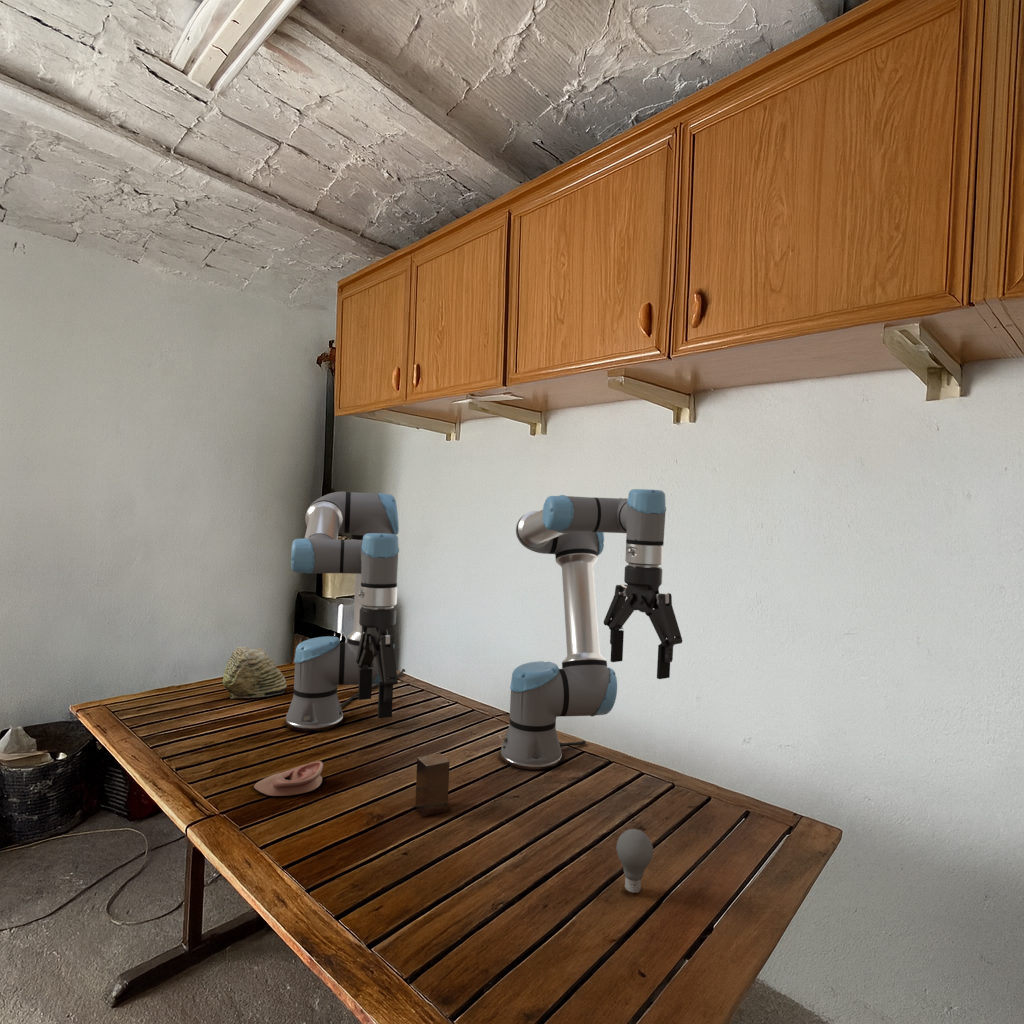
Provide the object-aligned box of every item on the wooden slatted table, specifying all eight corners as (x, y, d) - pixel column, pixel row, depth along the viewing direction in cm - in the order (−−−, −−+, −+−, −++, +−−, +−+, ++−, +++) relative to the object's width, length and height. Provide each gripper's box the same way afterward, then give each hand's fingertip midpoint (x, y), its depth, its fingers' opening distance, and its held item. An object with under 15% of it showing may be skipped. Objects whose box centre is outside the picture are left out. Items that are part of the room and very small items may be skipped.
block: (415, 806, 131) (417, 757, 131) (437, 801, 134) (439, 752, 134) (424, 816, 127) (426, 765, 127) (447, 811, 130) (449, 761, 130)
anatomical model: (246, 773, 134) (276, 753, 145) (245, 792, 134) (276, 770, 145) (303, 782, 131) (330, 760, 142) (302, 801, 131) (329, 777, 142)
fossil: (218, 695, 195) (220, 647, 195) (278, 685, 208) (279, 640, 207) (228, 703, 189) (230, 653, 188) (289, 692, 201) (290, 645, 201)
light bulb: (610, 879, 108) (613, 822, 108) (644, 879, 109) (647, 822, 109) (619, 902, 102) (622, 840, 102) (655, 901, 103) (658, 840, 103)
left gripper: (344, 599, 142) (340, 693, 142) (379, 617, 120) (375, 728, 120) (376, 598, 146) (373, 690, 146) (416, 615, 124) (412, 723, 124)
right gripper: (590, 559, 137) (585, 656, 137) (676, 573, 116) (670, 688, 116) (616, 558, 141) (612, 653, 141) (704, 572, 120) (699, 683, 120)
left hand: (374, 707), depth 133 cm, fingers open, 13 cm apart
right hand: (638, 669), depth 129 cm, fingers open, 13 cm apart
